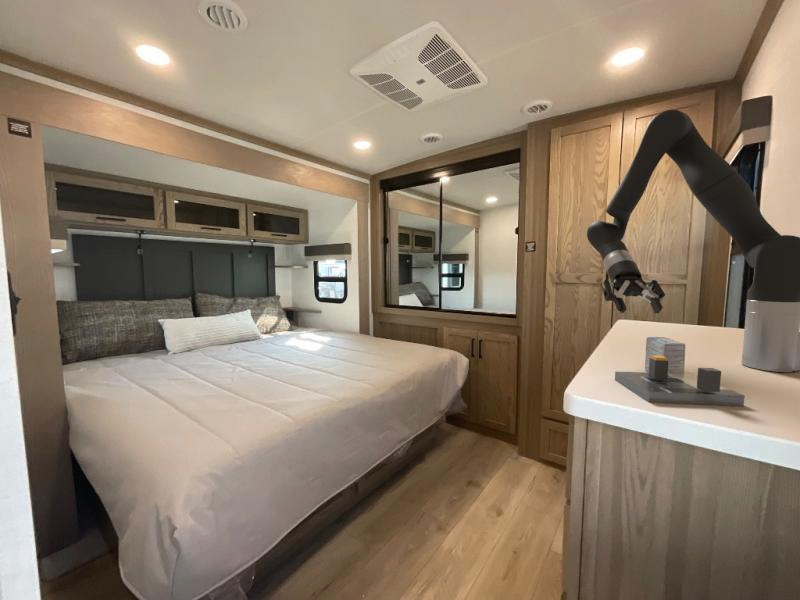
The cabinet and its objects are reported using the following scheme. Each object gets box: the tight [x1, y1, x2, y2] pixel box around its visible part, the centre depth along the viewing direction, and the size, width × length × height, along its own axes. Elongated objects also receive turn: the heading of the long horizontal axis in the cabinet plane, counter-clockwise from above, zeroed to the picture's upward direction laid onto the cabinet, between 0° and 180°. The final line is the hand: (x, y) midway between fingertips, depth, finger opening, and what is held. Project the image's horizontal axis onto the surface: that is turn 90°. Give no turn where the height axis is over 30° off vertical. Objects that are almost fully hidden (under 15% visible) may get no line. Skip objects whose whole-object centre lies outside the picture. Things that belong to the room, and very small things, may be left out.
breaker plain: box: [697, 367, 722, 392], centre depth 63 cm, size 2×2×4 cm
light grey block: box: [644, 336, 686, 374], centre depth 79 cm, size 8×4×9 cm, turn 168°
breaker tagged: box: [648, 356, 669, 380], centre depth 70 cm, size 2×2×5 cm
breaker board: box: [614, 370, 746, 407], centre depth 68 cm, size 16×13×2 cm
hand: (641, 311), depth 88 cm, fingers open, 8 cm apart
